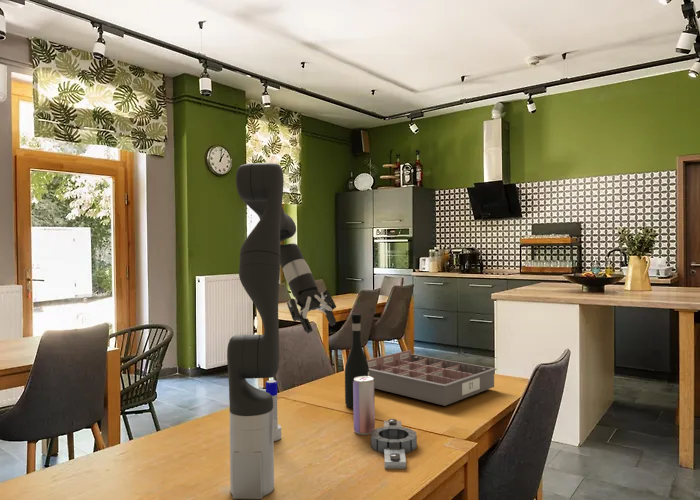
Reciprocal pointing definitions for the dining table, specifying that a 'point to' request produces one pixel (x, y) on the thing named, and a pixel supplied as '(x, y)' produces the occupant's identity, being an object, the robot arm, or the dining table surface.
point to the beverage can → (364, 405)
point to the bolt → (274, 408)
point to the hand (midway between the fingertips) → (322, 328)
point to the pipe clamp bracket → (394, 443)
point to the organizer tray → (429, 377)
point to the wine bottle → (355, 361)
